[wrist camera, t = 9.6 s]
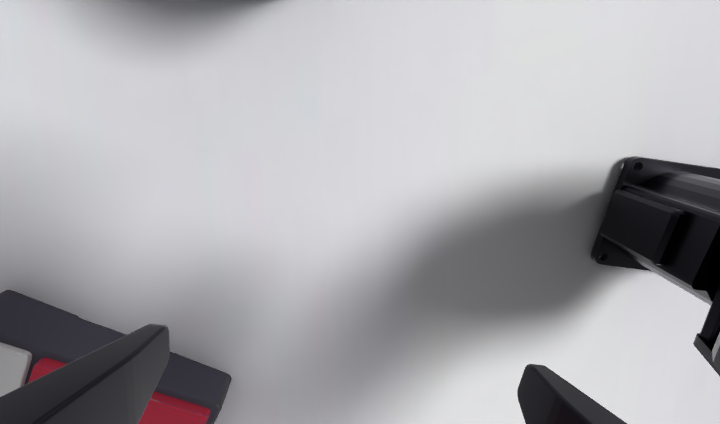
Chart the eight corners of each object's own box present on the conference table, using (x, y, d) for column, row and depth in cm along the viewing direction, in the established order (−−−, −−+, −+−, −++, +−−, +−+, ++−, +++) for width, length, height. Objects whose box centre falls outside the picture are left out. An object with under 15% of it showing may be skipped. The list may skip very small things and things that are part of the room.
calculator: (161, 528, 24) (-92, 469, 21) (186, 465, 28) (-23, 407, 25) (219, 416, 21) (-64, 328, 18) (237, 364, 25) (8, 284, 22)
